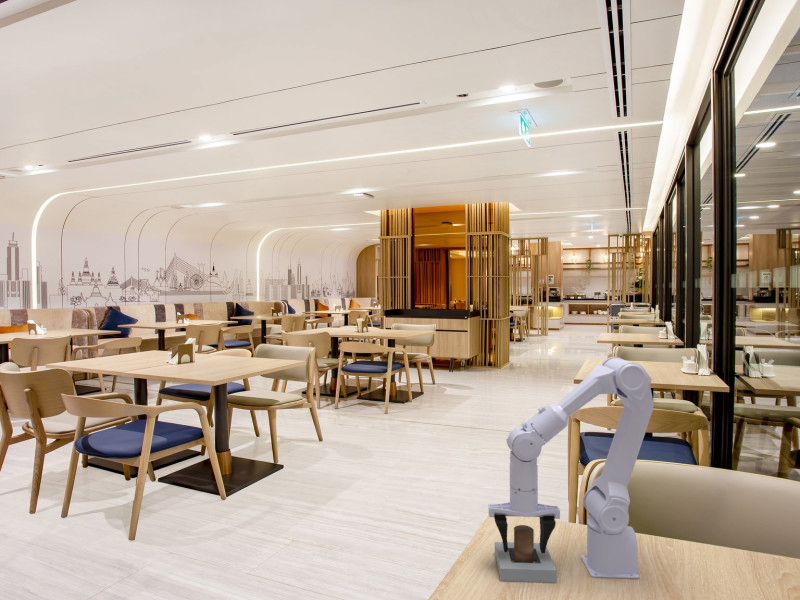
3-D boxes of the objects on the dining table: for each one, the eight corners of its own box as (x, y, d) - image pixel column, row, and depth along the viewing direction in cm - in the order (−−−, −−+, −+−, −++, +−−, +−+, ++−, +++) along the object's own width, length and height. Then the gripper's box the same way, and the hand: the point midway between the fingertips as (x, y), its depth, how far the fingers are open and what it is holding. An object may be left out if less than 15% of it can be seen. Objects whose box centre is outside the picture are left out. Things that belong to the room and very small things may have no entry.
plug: (532, 562, 110) (532, 525, 110) (535, 572, 106) (534, 534, 106) (513, 561, 111) (513, 524, 111) (515, 571, 107) (515, 533, 107)
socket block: (545, 554, 114) (545, 543, 114) (556, 582, 103) (556, 570, 103) (494, 553, 114) (494, 541, 114) (500, 580, 103) (500, 568, 103)
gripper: (554, 479, 112) (554, 542, 112) (487, 478, 113) (487, 540, 113) (562, 492, 105) (562, 559, 105) (490, 491, 106) (490, 556, 106)
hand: (523, 550), depth 108 cm, fingers open, 7 cm apart
